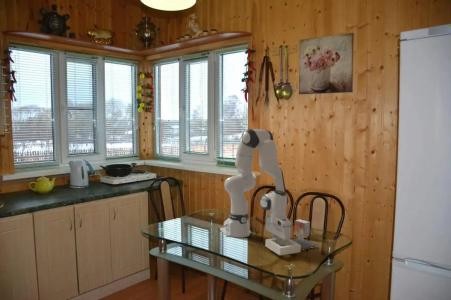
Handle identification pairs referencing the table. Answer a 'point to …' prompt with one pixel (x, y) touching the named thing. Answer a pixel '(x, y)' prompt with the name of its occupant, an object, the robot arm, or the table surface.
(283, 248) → the link
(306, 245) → the keeper plate
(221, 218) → the table surface
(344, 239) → the table surface
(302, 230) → the small box
